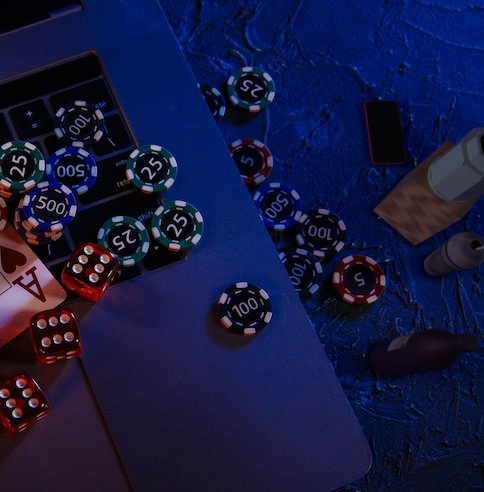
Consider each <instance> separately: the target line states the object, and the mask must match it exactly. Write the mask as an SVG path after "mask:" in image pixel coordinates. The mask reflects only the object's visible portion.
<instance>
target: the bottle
mask: <svg viewBox="0 0 484 492" xmlns="http://www.w3.org/2000/svg"><path fill="white" fill-rule="evenodd" d="M453 144H454V145H453V146H451V147H450V148H449V149H448V150H447V151H445V152H444V153H443V154H442V155H440V156H438V157H437V158H436V159H435V160H434V161H433V162H432V163H431V165H430V166H429V169H428V182H429V184H430V187H431V188H432V190H433V191H434V193H435V194H436V195H437V196H439V197H440V198H441V199H443V200H445V201H447V202H450V203H455V204H462V203H467V202H469V201H472V200H473V199H475V198H476V197H478V196H480V195H481V194H483V193H484V154H483V153H482V151H483V150H484V126H483V127H474V128H472V129H470V130H469V132H467V133H466V134H464V136H462V137H461V138H460V139H459V140H457V141H456V142H454V143H453ZM483 195H484V194H483Z"/></svg>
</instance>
